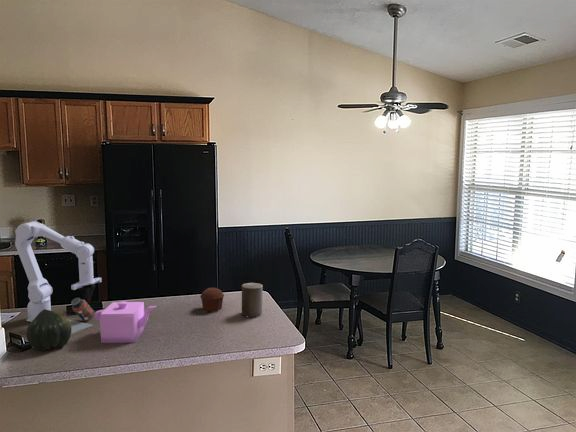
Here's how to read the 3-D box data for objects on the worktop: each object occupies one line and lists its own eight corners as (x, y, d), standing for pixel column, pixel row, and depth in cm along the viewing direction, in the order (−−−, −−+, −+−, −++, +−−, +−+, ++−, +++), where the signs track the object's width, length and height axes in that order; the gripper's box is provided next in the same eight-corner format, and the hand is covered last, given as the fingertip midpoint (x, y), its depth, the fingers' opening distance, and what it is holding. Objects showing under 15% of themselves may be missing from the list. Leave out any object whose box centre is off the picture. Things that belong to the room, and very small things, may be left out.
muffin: (205, 304, 223) (204, 284, 222) (226, 305, 222) (226, 285, 221) (197, 312, 212) (196, 291, 210) (219, 313, 210) (219, 292, 209)
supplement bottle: (91, 321, 198) (78, 307, 191) (79, 321, 200) (66, 307, 192) (97, 310, 202) (84, 295, 195) (85, 309, 204) (72, 295, 196)
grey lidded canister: (243, 318, 204) (243, 286, 202) (240, 311, 213) (240, 280, 211) (264, 316, 206) (264, 285, 204) (260, 310, 215) (260, 279, 214)
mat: (36, 331, 188) (36, 330, 188) (67, 320, 201) (67, 319, 201) (62, 337, 181) (62, 336, 181) (93, 325, 194) (93, 324, 194)
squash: (65, 340, 164) (67, 302, 172) (19, 346, 160) (23, 307, 168) (73, 353, 176) (74, 317, 184) (30, 359, 172) (33, 322, 180)
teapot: (153, 342, 177) (152, 307, 175) (88, 343, 175) (86, 308, 174) (161, 328, 192) (160, 296, 190) (101, 329, 190) (100, 297, 189)
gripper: (78, 276, 191) (80, 307, 192) (105, 269, 204) (107, 298, 205) (67, 274, 194) (68, 305, 195) (94, 267, 207) (96, 296, 208)
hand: (87, 301), depth 201 cm, fingers closed
